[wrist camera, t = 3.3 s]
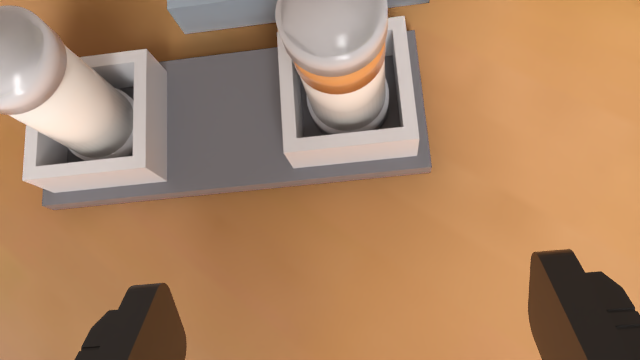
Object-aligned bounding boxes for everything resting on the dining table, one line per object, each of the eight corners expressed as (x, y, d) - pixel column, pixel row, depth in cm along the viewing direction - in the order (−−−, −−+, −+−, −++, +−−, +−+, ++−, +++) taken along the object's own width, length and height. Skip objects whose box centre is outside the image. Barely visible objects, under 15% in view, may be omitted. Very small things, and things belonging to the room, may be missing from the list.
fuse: (148, 92, 29) (50, -1, 21) (147, 163, 28) (45, 96, 20) (77, 100, 29) (-46, 12, 21) (74, 171, 28) (-57, 108, 20)
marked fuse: (385, 63, 28) (381, -47, 19) (393, 137, 27) (393, 53, 18) (307, 73, 28) (272, -32, 20) (312, 146, 27) (278, 68, 19)
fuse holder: (413, 39, 29) (416, 2, 25) (430, 172, 27) (435, 150, 24) (60, 83, 31) (19, 53, 27) (53, 210, 29) (9, 194, 26)
